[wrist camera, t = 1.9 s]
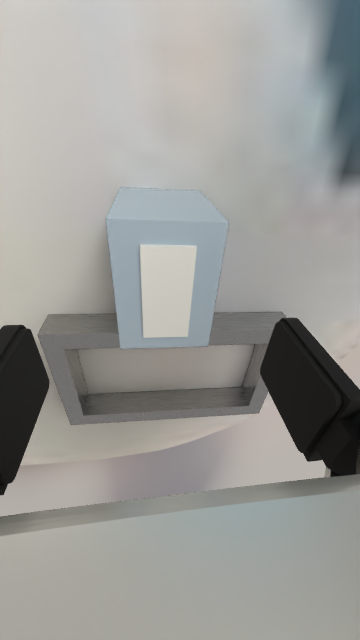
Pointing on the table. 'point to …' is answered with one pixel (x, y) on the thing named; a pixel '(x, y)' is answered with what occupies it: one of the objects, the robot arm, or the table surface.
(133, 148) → the table surface
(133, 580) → the robot arm
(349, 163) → the table surface
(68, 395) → the grey rectangular frame
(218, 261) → the module
